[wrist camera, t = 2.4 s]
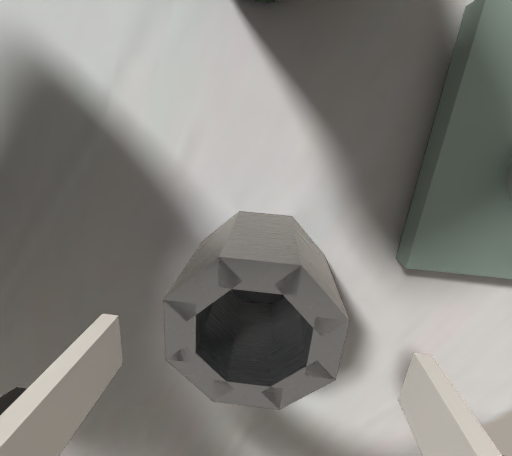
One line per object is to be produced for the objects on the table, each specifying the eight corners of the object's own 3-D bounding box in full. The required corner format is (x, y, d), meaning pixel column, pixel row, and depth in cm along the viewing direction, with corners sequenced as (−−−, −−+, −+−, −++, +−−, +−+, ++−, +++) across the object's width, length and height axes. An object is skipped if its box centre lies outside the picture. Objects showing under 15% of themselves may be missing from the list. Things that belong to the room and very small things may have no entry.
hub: (201, 313, 21) (167, 395, 14) (202, 207, 18) (161, 250, 12) (310, 325, 21) (327, 415, 14) (329, 219, 18) (361, 271, 11)
